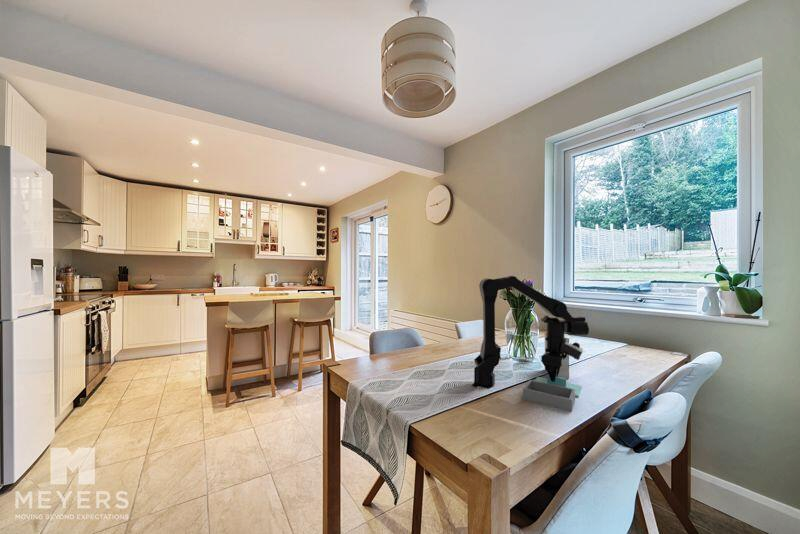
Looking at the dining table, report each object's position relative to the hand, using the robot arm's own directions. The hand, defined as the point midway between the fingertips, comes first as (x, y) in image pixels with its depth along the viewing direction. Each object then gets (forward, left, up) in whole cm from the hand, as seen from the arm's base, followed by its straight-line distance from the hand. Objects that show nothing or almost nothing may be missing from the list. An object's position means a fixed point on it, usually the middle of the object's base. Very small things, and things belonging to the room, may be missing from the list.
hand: (555, 377), depth 108 cm
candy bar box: (-2, +17, -4) cm, 18 cm away
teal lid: (+1, 0, -4) cm, 4 cm away
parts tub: (0, -13, -4) cm, 14 cm away
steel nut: (+3, -11, -3) cm, 12 cm away
